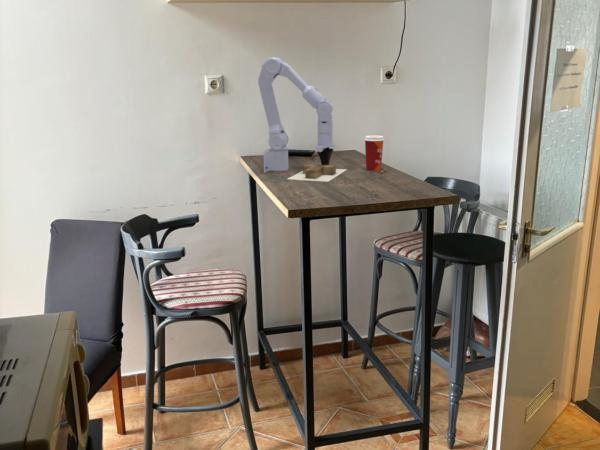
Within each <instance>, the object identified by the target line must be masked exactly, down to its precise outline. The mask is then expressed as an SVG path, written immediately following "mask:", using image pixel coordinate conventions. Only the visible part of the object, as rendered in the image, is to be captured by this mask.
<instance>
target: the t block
mask: <svg viewBox="0 0 600 450" xmlns="http://www.w3.org/2000/svg"><path fill="white" fill-rule="evenodd" d="M336 169H337V166H336V165H332V164H331V165H330V164H329V165H322V164H315V163H313V164H312V163H306V164H304V165H303V166H302V171H303V174H305V178H310V179H316V178H318V177H320V176H321V175H334V174H336Z"/></svg>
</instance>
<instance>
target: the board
mask: <svg viewBox="0 0 600 450" xmlns="http://www.w3.org/2000/svg"><path fill="white" fill-rule="evenodd" d="M347 170H348V169H346V168H345V169H344V168H336V174H334V175H321V176H320V177H318V178H316V179H310V178H305V174H303V170H301V171H300V172H298V173H296V174H294V175H292V176H290V177H288V178H287V180H291V181H295V180H296V181H311V182H314V184H317V185H318V184H319V183H318V182H331V180H333V179H335V178H336V177H338V176H339V175H341V174H343V173H344V172H345V171H347ZM315 182H317V183H315ZM298 183H302V182H298Z"/></svg>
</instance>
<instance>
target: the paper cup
mask: <svg viewBox="0 0 600 450" xmlns="http://www.w3.org/2000/svg"><path fill="white" fill-rule="evenodd" d="M363 140H364V145H365V146H364V148H365V149H364V151H365V168H366V169H365V170H366V171H371V172H375V171H376V172H377V174H380V173H381V172H382V163H383V150H384V141H385V138H384V135H378V134H377V135H376V134H371V135H365V137H364V139H363Z"/></svg>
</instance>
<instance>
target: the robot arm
mask: <svg viewBox="0 0 600 450" xmlns="http://www.w3.org/2000/svg"><path fill="white" fill-rule="evenodd" d="M277 76H280V77H283V78H287V79H288V80H289V81H290V82H291V83H293V84H294V86H296V87H297V88H298V89H299V90H300V91H301V92H302V93H301V94H302V95H301V96H302V99H303V100H305V101H306V102H307V103H308V104H309V105H310V106H311V107H312V108H313V109H316V111H315V112H316V113H317V144H316V145H317V146H316V153H317V155H318V157H319V161H320V165H330V161H331V157H332V155H333V152H334V148H332V147H335V146H336V143H334V141H333V114H332V113H333V111H334V110H333V109H334V106H333V104H332V102H331V101H330V100H328V99H327V97H324V95H323V94H321V93H320V92H319V88H318V87H317V86H316V87H315V86H314V85H308V84H307V83H306V82H305V81H304V79H303V78H302V77H301V76H300V75H299V74H298V73H297V72H296V71H295V69H293V67H291V66H290V64H288V63H287V62H286V61H284V60H283V58H281V57H278V56H275V57H273V56H271V57H268V58H267V59H266V60H265V61H264V62H263V64H262V65H261V70H260V72H259V77H258V79H257V84H258V87H259V92H260V96H261V101H262V104H263V108H264V112H265V116H266V120H267V121H266V122H267V124H268V136H269V138H268V145H269V149H268V148H267V149H265V150H264V152H263V174H264V173H267V172H269V171H272V172H286V171H288V170H289V148H288V146H287V144H288V143H289V136H288V134H287V133H286V132H285V129H284V126H283V125H282V122H281V121H282V120H281V117H280V114H279V113H280V112H279V109H278V104H277V101H276V97H275V92H274V89H273V82H274V81H275V79H276V78H277Z"/></svg>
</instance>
